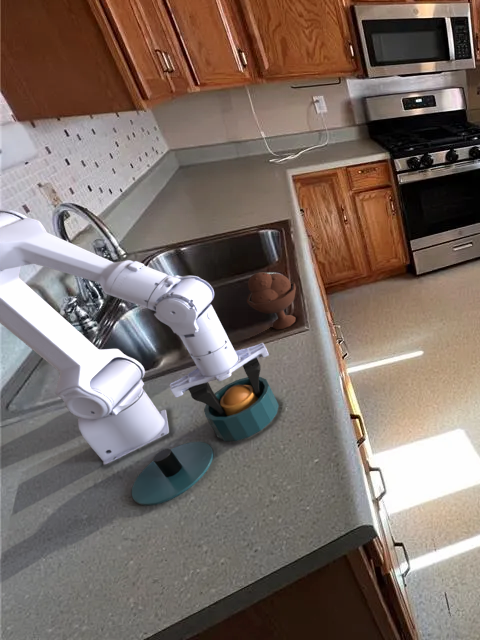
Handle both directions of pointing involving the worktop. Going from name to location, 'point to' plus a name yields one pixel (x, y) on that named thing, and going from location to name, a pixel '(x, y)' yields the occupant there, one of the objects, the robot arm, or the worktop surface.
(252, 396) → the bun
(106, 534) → the worktop surface
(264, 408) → the pot
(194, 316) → the robot arm
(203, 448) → the lid
